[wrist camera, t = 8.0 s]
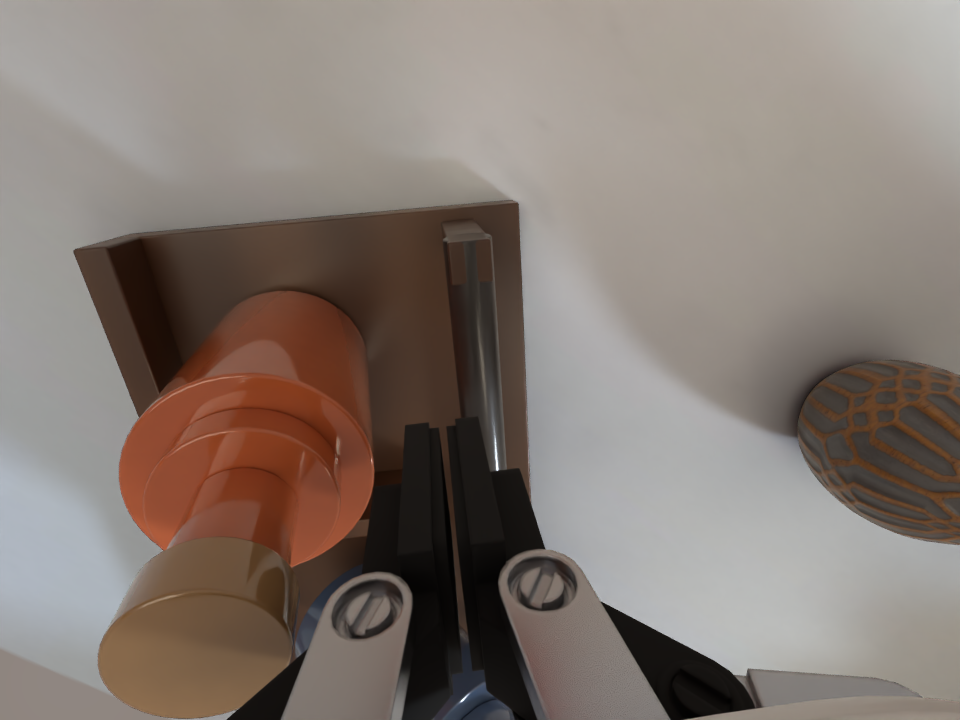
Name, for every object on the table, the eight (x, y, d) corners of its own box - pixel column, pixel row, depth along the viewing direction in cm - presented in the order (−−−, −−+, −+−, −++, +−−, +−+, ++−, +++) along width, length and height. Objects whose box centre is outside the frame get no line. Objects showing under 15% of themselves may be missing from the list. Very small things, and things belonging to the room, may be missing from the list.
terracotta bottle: (354, 280, 18) (353, 471, 7) (377, 414, 20) (406, 721, 9) (187, 301, 17) (-120, 564, 6) (232, 440, 19) (66, 820, 8)
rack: (512, 199, 19) (550, 218, 13) (532, 614, 27) (559, 728, 22) (128, 233, 18) (-1, 269, 12) (274, 653, 26) (236, 782, 21)
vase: (796, 488, 26) (964, 638, 18) (751, 392, 23) (925, 518, 15) (920, 418, 25) (1156, 544, 17) (888, 311, 22) (1149, 400, 14)
